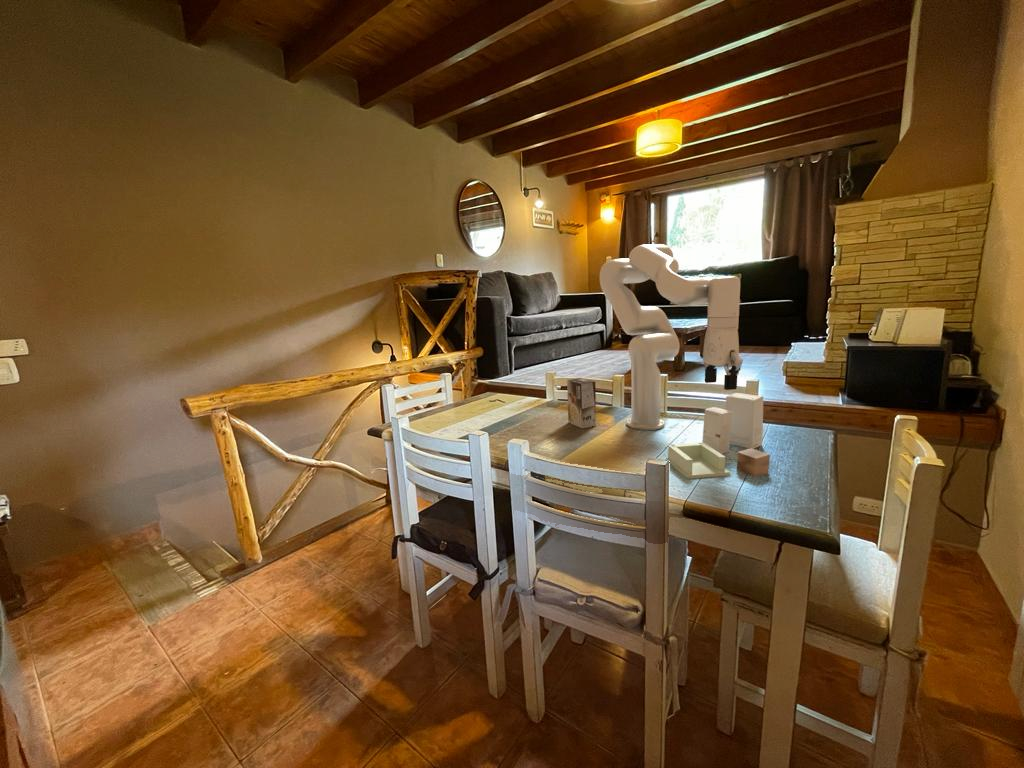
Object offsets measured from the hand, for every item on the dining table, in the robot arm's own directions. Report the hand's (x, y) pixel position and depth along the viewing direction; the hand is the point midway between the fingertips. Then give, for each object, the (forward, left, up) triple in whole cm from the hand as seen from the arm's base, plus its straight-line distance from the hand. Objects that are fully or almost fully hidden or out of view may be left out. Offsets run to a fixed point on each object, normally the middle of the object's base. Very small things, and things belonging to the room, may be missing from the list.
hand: (720, 385), depth 117 cm
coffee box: (-33, -31, -19) cm, 50 cm away
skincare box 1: (0, 0, -19) cm, 19 cm away
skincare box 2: (-3, +10, -19) cm, 22 cm away
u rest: (+10, -11, -19) cm, 24 cm away
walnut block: (+15, +1, -19) cm, 24 cm away
